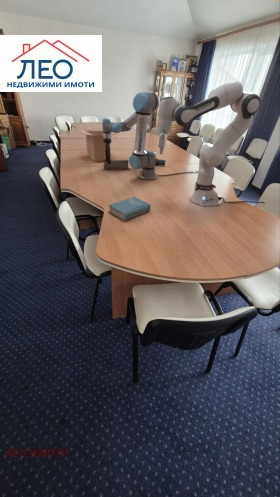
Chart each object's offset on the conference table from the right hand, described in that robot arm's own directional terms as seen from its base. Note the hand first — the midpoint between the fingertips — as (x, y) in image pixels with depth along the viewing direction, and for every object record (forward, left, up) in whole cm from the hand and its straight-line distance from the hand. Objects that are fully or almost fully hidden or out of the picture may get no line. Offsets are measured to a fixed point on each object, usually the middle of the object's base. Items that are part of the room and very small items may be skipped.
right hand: (161, 152), depth 144 cm
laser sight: (-13, -93, -34) cm, 100 cm away
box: (+48, -112, -34) cm, 127 cm away
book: (+21, +18, -34) cm, 44 cm away
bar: (+29, -75, -34) cm, 87 cm away
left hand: (+36, -73, -28) cm, 86 cm away
